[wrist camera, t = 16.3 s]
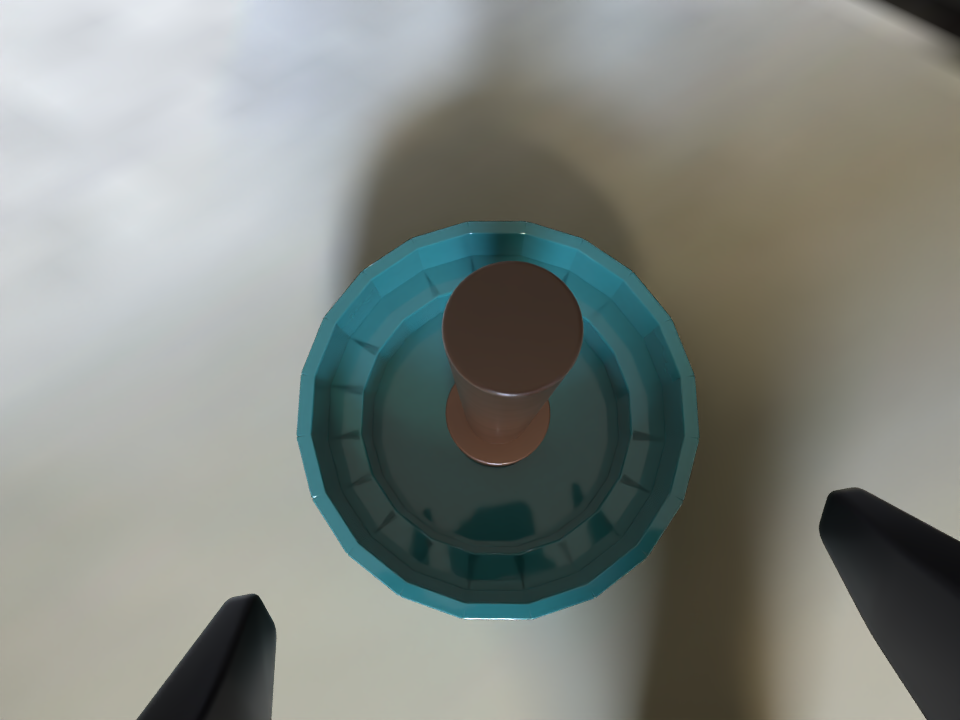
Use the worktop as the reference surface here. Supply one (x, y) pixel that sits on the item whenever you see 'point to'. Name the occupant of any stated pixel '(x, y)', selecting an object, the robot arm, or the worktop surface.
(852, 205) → the worktop surface
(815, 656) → the worktop surface
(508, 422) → the post
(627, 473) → the bowl
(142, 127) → the worktop surface
